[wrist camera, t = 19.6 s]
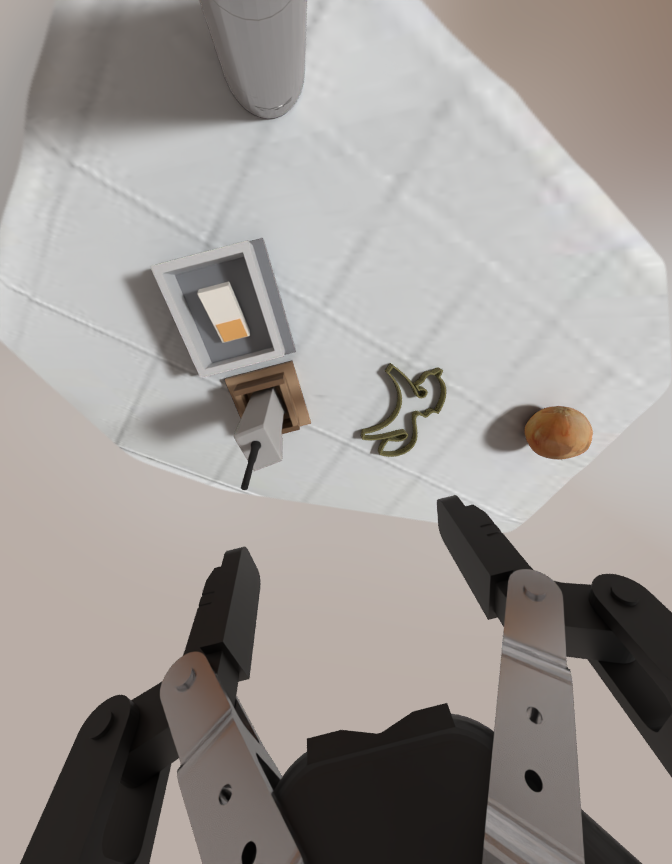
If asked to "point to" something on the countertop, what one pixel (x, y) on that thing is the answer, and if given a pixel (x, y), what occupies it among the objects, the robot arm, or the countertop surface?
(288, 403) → the stand
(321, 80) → the countertop surface
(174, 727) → the robot arm
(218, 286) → the plate
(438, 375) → the cookie cutter
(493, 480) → the countertop surface
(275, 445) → the vintage mobile phone
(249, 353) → the box
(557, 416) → the onion
